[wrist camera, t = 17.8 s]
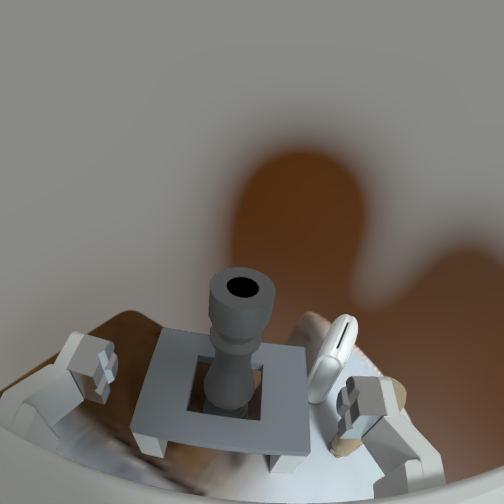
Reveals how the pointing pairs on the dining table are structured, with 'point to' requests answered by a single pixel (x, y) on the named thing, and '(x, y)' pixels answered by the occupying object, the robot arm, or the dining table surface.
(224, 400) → the candle holder
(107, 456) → the dining table surface
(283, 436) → the hole stand
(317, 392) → the photo printer
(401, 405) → the handle
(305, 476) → the dining table surface
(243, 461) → the dining table surface
